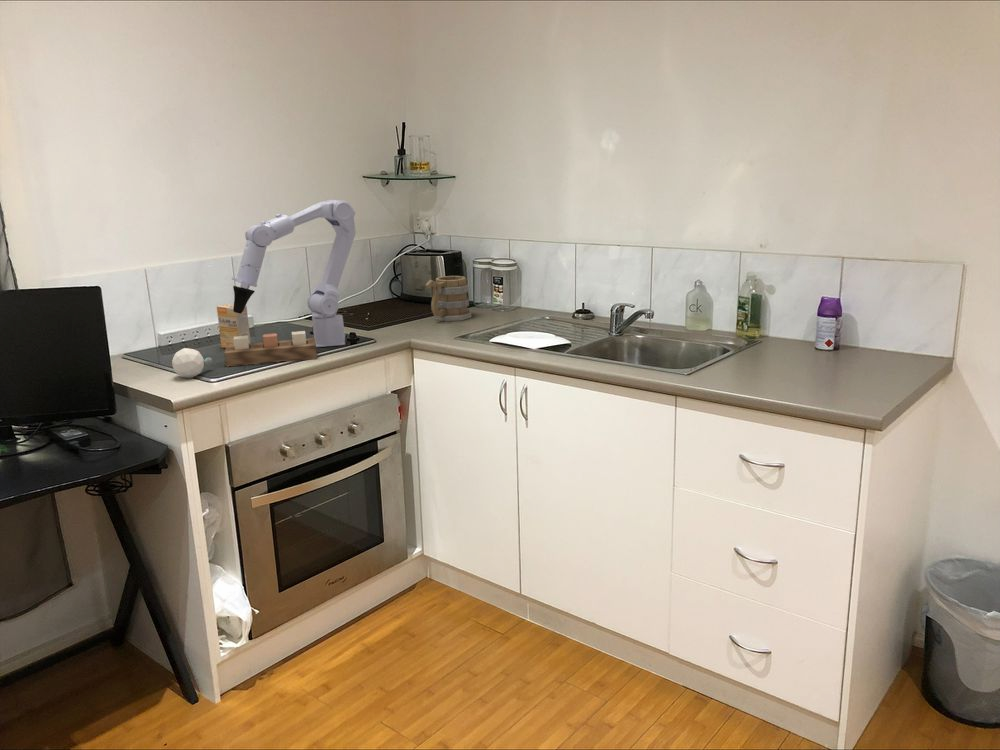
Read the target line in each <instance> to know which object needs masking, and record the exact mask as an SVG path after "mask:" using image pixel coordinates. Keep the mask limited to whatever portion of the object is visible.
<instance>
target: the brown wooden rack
mask: <svg viewBox="0 0 1000 750" xmlns="http://www.w3.org/2000/svg"><path fill="white" fill-rule="evenodd" d="M224 349H225V350H224V360H225V361H224V362H225V367H226V368H229V366H231V367H239V366H238V365H243V366H249V365H248V364H254V365H260V364H259V363H265V364H269V363H268V362H277V363H280V362H279V361H286V362H287V361H288V362H297V361H308V360H309V361H310V360H318V353H317V352H318V350H317V347H316V342H315V338H314V337H311V338H306V344H301V345H293V341H292V339H287V340H286V339H285V340H284V339H283V340H278V347H266V348H264V342H263V341H260V342H252V343H249V349H242V350H235V347H234V345H227V346H226V348H224ZM286 362H285V363H286ZM288 362H287V363H288Z"/></svg>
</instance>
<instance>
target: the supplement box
mask: <svg viewBox="0 0 1000 750" xmlns="http://www.w3.org/2000/svg"><path fill="white" fill-rule="evenodd" d="M233 307H234V304H229V303H225V304H221V305H217V306H216V313H217V320H218V321H217V322H218V329H219V338H220V346H221V348H222V349H226V346H227V345H234V337H236V336H248V339H249V343H251V335H250V325H249V324H250V323H249V316H248V306H247V305H246V306H245V308H244V310H243V312H242V313H241V314H240V313H236V312H233Z"/></svg>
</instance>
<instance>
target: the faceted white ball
mask: <svg viewBox="0 0 1000 750" xmlns="http://www.w3.org/2000/svg"><path fill="white" fill-rule="evenodd" d="M171 363H172V368H173V370H174V372H175V373H176V375H178V376H180V377H182V378H188V379H189V378H191V379H192V378H194V376H195V377H196V376H197V375H200V374H201V372H202V371H203V369H204V367H205V366H208V365H211V364H213V359H212V357H206V358H205V359H204V358H203V355H202V354H201V353H200V351H199V350H196V349H195V348H194V349H193V348H185V347H183V348H182V349H180V350H177V352H175V353H174V355H173V358H172V360H171Z"/></svg>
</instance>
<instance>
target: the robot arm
mask: <svg viewBox="0 0 1000 750" xmlns="http://www.w3.org/2000/svg"><path fill="white" fill-rule="evenodd" d="M355 215H356V211H355V209H354V208H353V206H352V205H351V203H350V202H348V201H347V200H344V199H342V200H338V199H337V200H335V199H327V200H325V201H319V202H317V203H315V204H313V205H311V206H308V207H307V208H305V209H302V210H301V211H298V212H296V213H294V214H291V215H290V216H289V215H287V214H281V213H277V214H275V215H274V216H275V217H273V218H272V219H269V220H267V221H266V220H262V221H260V225H259V224H254V225H252V226H250V227H248V229H247V231H245V233H244V236H245V239H246V243H245V246H244V250H243V253H242V257H241V259H240V260H241V261H240V264H239V267H238V271H237V273H236V277H231V280H232V281H235V282H238V283H240V286H236V285H233V287H232V288H233V295H234V298H233V305H234V307H233V312H236V313H240V314H241V313H242V312H243V310H244V308H245V306H247V304H248V302H249V300H250V299H251V297H252V296H253V295H254V293H255V290H254V289H250V287H253V288H257V287H258V280H259V277H260V273H261V271H262V270H261V269H262V267H263V262H264V258H265V254H266V250H267V247H268V246H270V245H271V244H272V243H273V242H274V241H276V240H279V239H282V238H283V237H285V236H288V235H290V234H292V233H293V232H294V230H295V228H296V227H297V226H301V225H303V224H306V223H308V222H311V221H313V220H317V219H319V218H321V219H323V218H324V219H325V220H326V221H327V222H328V224H330V225H331V227H332V228H333V230H334V232H335V237H334V240H333V244H332V246H331V249H330V252H329V255H328V258H327V262H326V264H325V267H324V270H323V273H322V277H321V279H320V282H319V283H318V284H317V285H316V286H315V287H314V288H313V292H312V293H311V294H310V295H309V296H308V298H307V307H308V309H309V310H310V311H311V321H312V322H311V323H312V329H313V330H312V333H313V338H315V342H316V348H324V347H336V346H345V345H346V332H345V325H344V318H343V317H344V316H343V315H342V314H337V313H338V310H339V307H340V306H339V305H340V304H339V298H340V292H339V290H338V289H339V288H338V287H339V284H340V281H341V278H342V276H343V272H344V269H345V266H346V263H347V260H348V257H349V256H350V255H349V254H350V252H351V248H352V246H353V243H354V239H355V236H356V226H355Z"/></svg>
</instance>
